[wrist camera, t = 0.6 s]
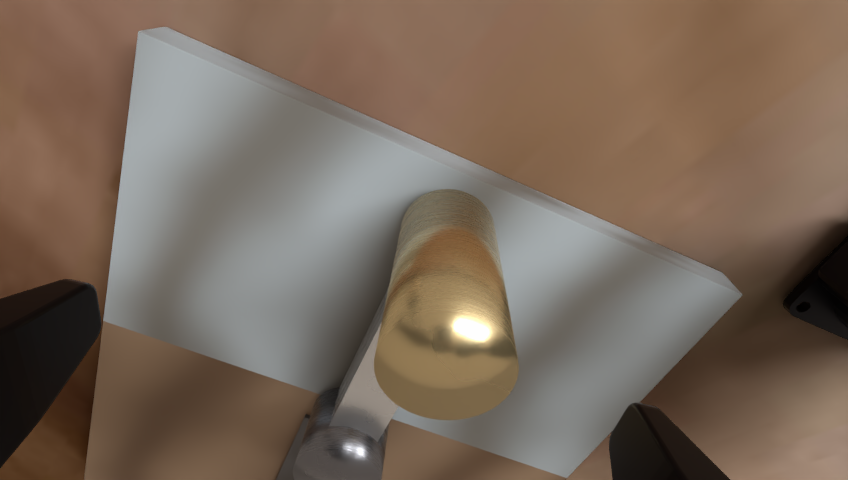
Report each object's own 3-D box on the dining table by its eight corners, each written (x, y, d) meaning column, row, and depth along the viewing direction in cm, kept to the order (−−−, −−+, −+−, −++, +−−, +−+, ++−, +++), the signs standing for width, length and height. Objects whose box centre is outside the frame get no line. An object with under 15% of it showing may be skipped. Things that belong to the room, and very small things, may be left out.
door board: (722, 272, 19) (745, 298, 17) (458, 563, 30) (459, 593, 28) (165, 26, 15) (134, 31, 14) (101, 457, 26) (81, 486, 25)
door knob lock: (373, 449, 22) (346, 615, 16) (303, 426, 21) (249, 589, 16) (514, 213, 16) (550, 346, 10) (420, 172, 15) (402, 288, 9)
